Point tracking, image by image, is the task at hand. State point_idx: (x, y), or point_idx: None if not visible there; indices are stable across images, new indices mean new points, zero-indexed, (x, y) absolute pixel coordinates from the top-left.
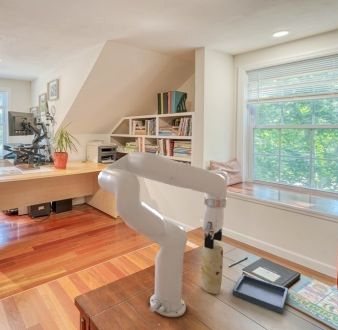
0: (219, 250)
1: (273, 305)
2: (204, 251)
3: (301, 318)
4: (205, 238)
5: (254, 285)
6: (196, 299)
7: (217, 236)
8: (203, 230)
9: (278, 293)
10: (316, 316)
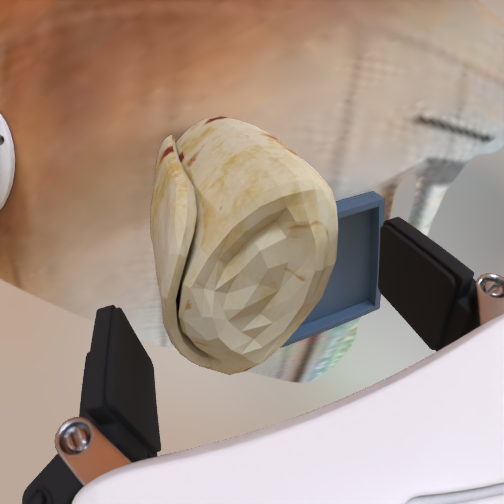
0: (205, 365)
1: None
2: (164, 221)
3: (281, 359)
4: (92, 402)
5: (350, 241)
6: (77, 181)
7: (404, 286)
8: (80, 490)
9: (352, 295)
10: (315, 363)
